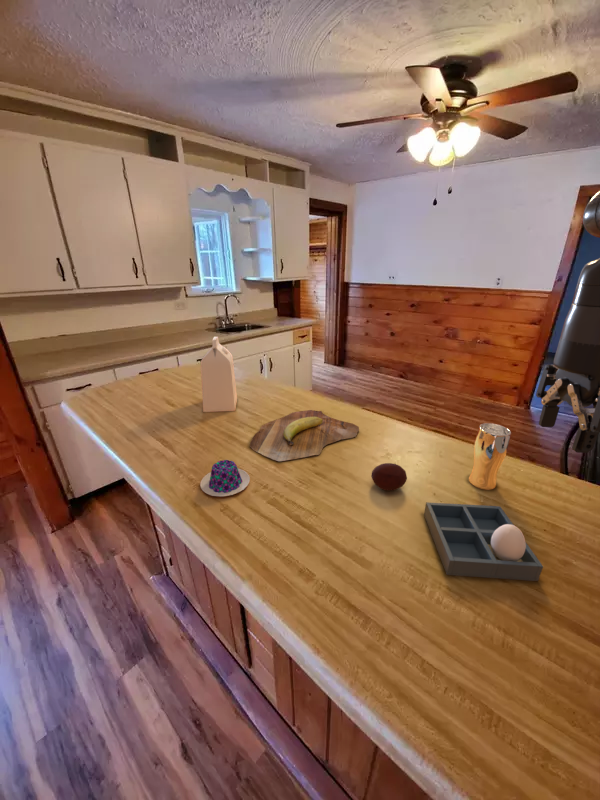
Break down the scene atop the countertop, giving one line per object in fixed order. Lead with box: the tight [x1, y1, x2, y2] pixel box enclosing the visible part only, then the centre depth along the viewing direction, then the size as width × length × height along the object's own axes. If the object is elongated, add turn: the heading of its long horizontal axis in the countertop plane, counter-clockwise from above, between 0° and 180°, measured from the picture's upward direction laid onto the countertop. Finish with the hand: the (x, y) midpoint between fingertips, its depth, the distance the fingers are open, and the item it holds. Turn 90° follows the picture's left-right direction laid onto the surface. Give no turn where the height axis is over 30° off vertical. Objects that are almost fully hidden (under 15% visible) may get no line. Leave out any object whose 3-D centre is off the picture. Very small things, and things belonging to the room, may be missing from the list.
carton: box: [423, 501, 544, 582], centre depth 65 cm, size 15×15×3 cm
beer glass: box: [468, 422, 512, 491], centre depth 82 cm, size 7×7×15 cm
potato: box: [371, 462, 408, 492], centre depth 81 cm, size 7×8×6 cm
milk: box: [200, 336, 238, 413], centre depth 125 cm, size 12×12×26 cm
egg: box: [491, 524, 527, 561], centre depth 60 cm, size 5×5×7 cm
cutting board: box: [249, 409, 360, 462], centre depth 107 cm, size 35×27×4 cm
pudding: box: [199, 459, 251, 497], centre depth 82 cm, size 12×12×5 cm
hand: (561, 437), depth 54 cm, fingers open, 8 cm apart
